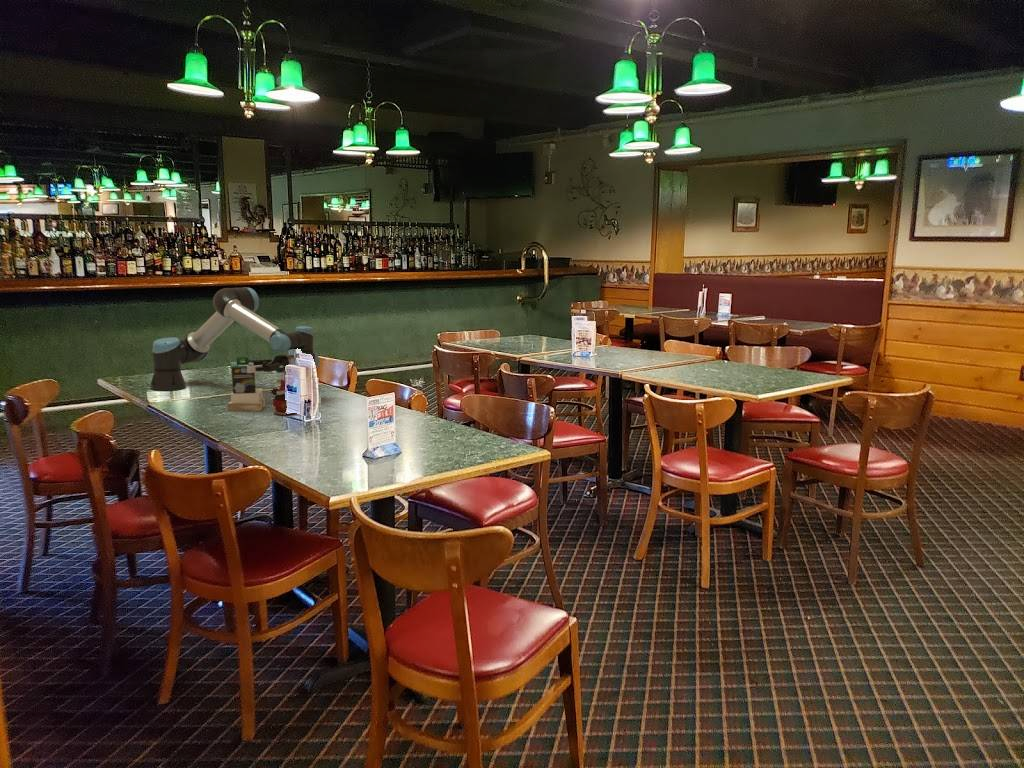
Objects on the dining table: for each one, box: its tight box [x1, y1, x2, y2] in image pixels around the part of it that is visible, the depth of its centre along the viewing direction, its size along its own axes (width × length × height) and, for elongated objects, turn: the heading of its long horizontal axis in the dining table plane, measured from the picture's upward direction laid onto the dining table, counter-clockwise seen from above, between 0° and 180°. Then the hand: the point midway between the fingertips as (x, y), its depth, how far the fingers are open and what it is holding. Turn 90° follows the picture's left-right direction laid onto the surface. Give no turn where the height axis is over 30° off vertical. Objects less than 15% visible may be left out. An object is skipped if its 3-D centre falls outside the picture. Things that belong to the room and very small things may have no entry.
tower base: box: [226, 397, 267, 412], centre depth 313 cm, size 13×13×4 cm
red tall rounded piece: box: [270, 370, 287, 416], centre depth 304 cm, size 11×9×18 cm
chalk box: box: [230, 356, 256, 394], centre depth 310 cm, size 9×9×15 cm
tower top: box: [230, 388, 264, 403], centre depth 312 cm, size 11×11×4 cm
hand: (239, 367), depth 308 cm, fingers open, 12 cm apart
